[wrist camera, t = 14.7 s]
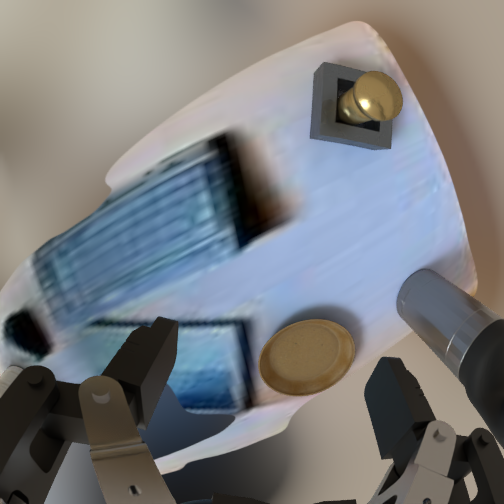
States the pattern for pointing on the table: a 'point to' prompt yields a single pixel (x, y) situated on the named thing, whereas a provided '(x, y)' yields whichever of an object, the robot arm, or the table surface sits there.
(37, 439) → the robot arm
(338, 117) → the brass flared peg
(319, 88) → the box
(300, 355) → the plant saucer
